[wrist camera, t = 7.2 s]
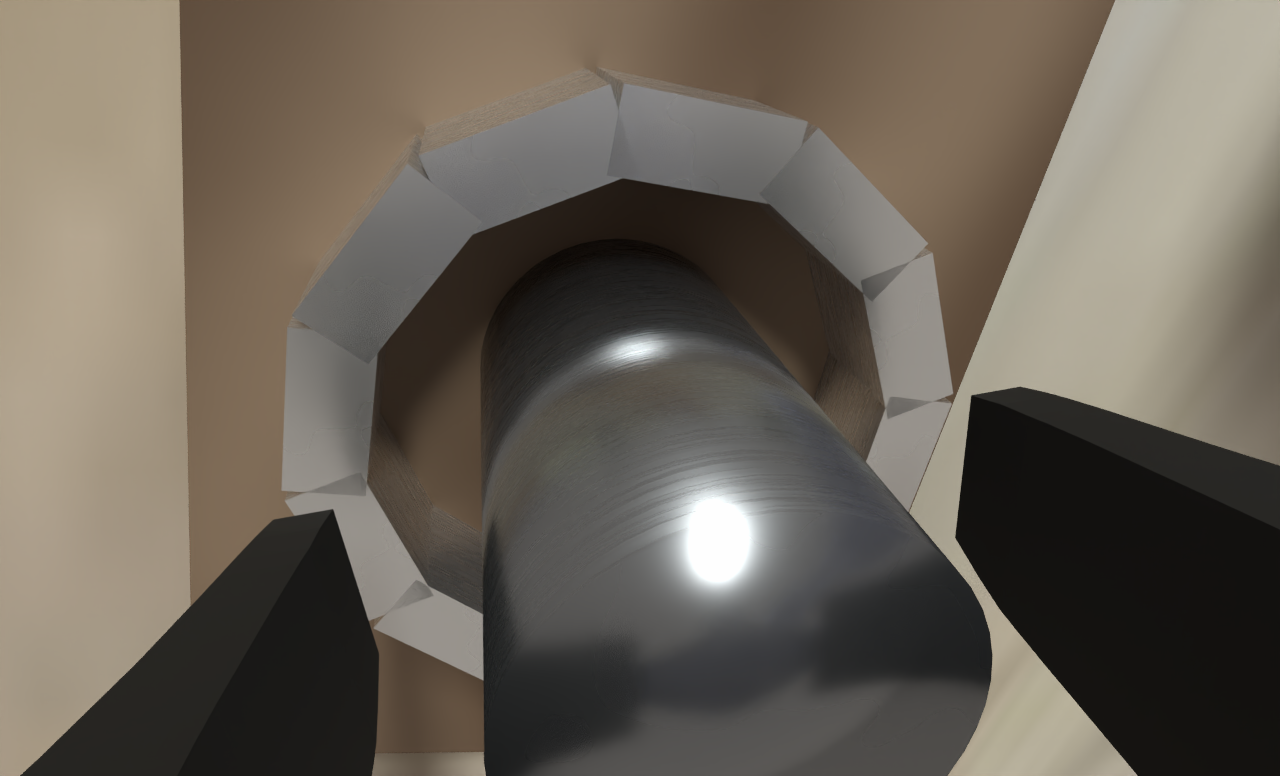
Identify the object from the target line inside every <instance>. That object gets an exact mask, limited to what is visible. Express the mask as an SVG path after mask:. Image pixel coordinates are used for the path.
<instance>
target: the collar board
mask: <svg viewBox="0 0 1280 776" xmlns="http://www.w3.org/2000/svg"><path fill="white" fill-rule="evenodd" d="M1114 2H1115V0H180V48H181V103H182V157H183V211H184V265H185V320H186V374H187V428H188V483H189V537H190V591H191V605H192V604H193V603H194V602H195V601H196V600H197V599H198V598H199V597H200V596H201V595H202V594H203V593H204V592H205V590H206V589H207V588H208V587H209V586H210V585H211V584H212V583H213V582H214V581H215V580H216V579H217V577H218V576H219V575H220V574H221V573H222V572H223V571H224V570H225V569H226V568H227V567H228V566H229V564H230V563H231V562H232V561H233V560H234V559H235V558H236V557H237V556H238V555H239V554H240V553H241V552H242V550H243V549H244V548H245V547H246V546H247V545H248V544H249V543H250V542H251V541H252V540H253V539H254V538H255V537H256V536H257V535H258V534H259V533H260V532H261V531H262V530H263V529H264V528H265V527H266V526H267V525H268V524H269V523H270V522H271V521H272V520H274V519H279V518H285V517H291V516H296V515H302V514H308V513H313V512H319V511H324V510H330V509H333V510H334V513H335V516H336V519H337V522H338V526H339V529H340V532H341V535H342V538H343V541H344V544H345V548H346V551H347V554H348V557H349V560H350V563H351V567H352V570H353V573H354V576H355V579H356V582H357V585H358V589H359V592H360V595H361V598H362V601H363V604H364V607H365V611H366V614H367V617H368V620H369V623H370V626H371V630H372V633H373V636H374V639H375V642H376V645H377V648H378V652H379V688H378V719H377V742H376V750H375V753H425V752H484V687H483V590H482V493H481V397H480V363H481V351H482V345H483V339H484V336H485V333H486V330H487V327H488V324H489V322H490V320H491V317H492V315H493V313H494V311H495V309H496V307H497V306H498V304H499V303H500V301H501V300H502V298H503V297H504V296H505V294H506V293H507V292H508V290H509V289H510V288H511V287H512V286H513V285H514V284H515V283H516V281H517V280H518V279H519V278H521V277H522V276H523V275H524V274H525V273H526V272H527V271H529V270H530V269H531V268H532V267H534V266H535V265H537V264H538V263H540V262H541V261H543V260H544V259H546V258H547V257H549V256H551V255H553V254H556V253H558V252H560V251H562V250H564V249H567V248H570V247H573V246H576V245H579V244H582V243H587V242H592V241H597V240H606V239H630V240H639V241H644V242H649V243H653V244H656V245H659V246H662V247H665V248H668V249H670V250H672V251H674V252H676V253H678V254H680V255H682V256H684V257H686V258H687V259H689V260H690V261H692V262H693V263H694V264H696V265H697V266H699V267H700V268H701V269H702V270H703V271H704V272H705V273H706V274H707V275H708V276H709V277H710V278H711V279H712V280H713V281H714V282H715V284H716V285H717V286H718V287H719V288H720V290H721V291H722V292H723V293H724V294H725V295H726V297H727V298H728V299H729V300H730V301H731V303H732V304H733V305H734V306H735V307H736V309H737V310H738V311H739V312H740V313H741V314H742V316H743V317H744V318H745V319H746V320H747V322H748V323H749V324H750V325H751V326H752V327H753V329H754V330H755V331H756V332H757V333H758V335H759V336H760V337H761V338H762V339H763V341H764V342H765V343H766V344H767V345H768V346H769V348H770V349H771V350H772V351H773V352H774V354H775V355H776V356H777V357H778V358H779V359H780V361H781V362H782V363H783V364H784V365H785V367H786V368H787V369H788V370H789V371H790V373H791V374H792V375H793V376H794V377H795V378H796V380H797V381H798V382H799V383H800V384H801V386H802V387H803V388H804V389H805V390H806V391H807V393H808V394H809V395H810V396H811V397H812V399H813V400H814V401H815V402H816V403H817V405H818V406H819V407H820V408H821V409H822V410H823V412H824V413H825V414H826V415H827V416H828V418H829V419H830V420H831V421H832V422H833V423H834V425H835V426H836V427H837V428H838V429H839V431H840V432H841V433H842V434H843V435H844V437H845V438H846V439H847V440H848V441H849V442H850V444H851V445H852V446H853V447H854V448H855V450H856V451H857V452H858V453H859V454H860V455H861V457H862V458H863V459H864V460H865V461H866V463H867V464H868V465H869V466H870V467H871V469H872V470H873V471H874V472H875V473H876V474H877V476H878V477H879V478H880V479H881V480H882V482H883V483H884V484H885V485H886V486H887V488H888V489H889V490H890V491H891V492H892V493H893V495H894V496H895V497H896V498H897V499H898V501H899V502H900V503H901V504H902V505H903V506H904V508H905V509H906V510H907V511H908V512H909V511H910V509H911V506H912V504H913V501H914V499H915V496H916V494H917V491H918V489H919V486H920V484H921V481H922V479H923V476H924V474H925V471H926V469H927V466H928V464H929V461H930V459H931V456H932V454H933V452H934V449H935V447H936V444H937V442H938V439H939V437H940V434H941V432H942V429H943V427H944V424H945V422H946V419H947V417H948V414H949V412H950V409H951V407H952V404H953V402H954V399H955V397H956V394H957V392H958V389H959V387H960V384H961V382H962V379H963V377H964V374H965V372H966V369H967V367H968V365H969V362H970V360H971V357H972V355H973V352H974V350H975V347H976V345H977V342H978V340H979V337H980V335H981V332H982V330H983V327H984V325H985V322H986V320H987V317H988V315H989V312H990V310H991V307H992V305H993V302H994V300H995V297H996V295H997V292H998V290H999V287H1000V285H1001V282H1002V280H1003V278H1004V275H1005V273H1006V270H1007V268H1008V265H1009V263H1010V260H1011V258H1012V255H1013V253H1014V250H1015V248H1016V245H1017V243H1018V240H1019V238H1020V235H1021V233H1022V230H1023V228H1024V225H1025V223H1026V220H1027V218H1028V215H1029V213H1030V210H1031V208H1032V205H1033V203H1034V200H1035V198H1036V195H1037V193H1038V191H1039V188H1040V186H1041V183H1042V181H1043V178H1044V176H1045V173H1046V171H1047V168H1048V166H1049V163H1050V161H1051V158H1052V156H1053V153H1054V151H1055V148H1056V146H1057V143H1058V141H1059V138H1060V136H1061V133H1062V131H1063V128H1064V126H1065V123H1066V121H1067V118H1068V116H1069V113H1070V111H1071V108H1072V106H1073V104H1074V101H1075V99H1076V96H1077V94H1078V91H1079V89H1080V86H1081V84H1082V81H1083V79H1084V76H1085V74H1086V71H1087V69H1088V66H1089V64H1090V61H1091V59H1092V56H1093V54H1094V51H1095V49H1096V46H1097V44H1098V41H1099V39H1100V36H1101V34H1102V31H1103V29H1104V26H1105V24H1106V21H1107V19H1108V17H1109V14H1110V12H1111V9H1112V7H1113V4H1114Z"/></svg>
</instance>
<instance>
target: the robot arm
mask: <svg viewBox="0 0 1280 776" xmlns="http://www.w3.org/2000/svg"><path fill="white" fill-rule="evenodd" d="M955 538H956V540H957V541H958V543H959V545H960V546H961V548H962V550H963V551H964V553H965V555H966V556H967V558H968V560H969V561H970V563H971V565H972V566H973V568H974V570H975V571H976V573H977V575H978V577H979V578H980V580H981V581H982V583H983V584H984V586H985V587H986V589H987V590H988V592H989V593H990V595H991V597H992V598H993V600H994V601H995V603H996V604H997V606H998V607H999V609H1000V610H1001V611H1002V613H1003V614H1004V615H1005V616H1006V618H1007V619H1008V620H1009V621H1010V623H1011V624H1012V625H1013V626H1014V628H1015V629H1016V630H1017V631H1018V633H1019V634H1020V635H1021V636H1022V637H1023V639H1024V640H1025V641H1026V642H1027V643H1028V645H1029V646H1030V647H1031V648H1032V650H1033V651H1034V652H1035V653H1036V654H1037V656H1038V657H1039V658H1040V659H1041V661H1042V662H1043V663H1044V664H1045V665H1046V667H1047V668H1048V669H1049V670H1050V671H1051V673H1052V674H1053V675H1054V676H1055V677H1056V679H1057V680H1058V681H1059V682H1060V683H1061V685H1062V686H1063V687H1064V688H1065V689H1066V690H1067V692H1068V693H1069V694H1070V695H1071V696H1072V698H1073V699H1074V700H1075V701H1076V702H1077V704H1078V705H1079V706H1080V707H1081V708H1082V710H1083V711H1084V712H1085V713H1086V714H1087V716H1088V717H1089V718H1090V719H1091V720H1092V721H1093V723H1094V724H1095V725H1096V726H1097V727H1098V729H1099V730H1100V731H1101V732H1102V733H1103V735H1104V736H1105V737H1106V738H1107V739H1108V741H1109V742H1110V743H1111V744H1112V745H1113V747H1114V748H1115V749H1116V750H1117V751H1118V753H1119V754H1120V755H1121V756H1122V757H1123V758H1124V760H1125V761H1126V762H1127V763H1128V764H1129V766H1130V767H1131V768H1132V769H1133V770H1134V772H1135V773H1136V774H1137V775H1138V776H1280V466H1279V465H1275V464H1272V463H1269V462H1266V461H1262V460H1259V459H1256V458H1253V457H1249V456H1246V455H1243V454H1240V453H1237V452H1233V451H1230V450H1227V449H1224V448H1221V447H1218V446H1215V445H1211V444H1208V443H1205V442H1202V441H1199V440H1196V439H1193V438H1190V437H1187V436H1184V435H1181V434H1177V433H1174V432H1171V431H1168V430H1165V429H1162V428H1159V427H1156V426H1153V425H1150V424H1147V423H1144V422H1141V421H1138V420H1135V419H1131V418H1128V417H1125V416H1122V415H1119V414H1116V413H1113V412H1110V411H1107V410H1104V409H1100V408H1097V407H1094V406H1091V405H1088V404H1084V403H1081V402H1078V401H1074V400H1071V399H1068V398H1064V397H1060V396H1057V395H1053V394H1049V393H1045V392H1042V391H1037V390H1032V389H1028V388H1023V387H1016V388H1011V389H1005V390H1000V391H994V392H988V393H983V394H977V395H971V404H970V412H969V421H968V430H967V439H966V448H965V457H964V465H963V474H962V483H961V492H960V501H959V510H958V518H957V527H956V536H955ZM378 688H379V652H378V648H377V645H376V642H375V639H374V636H373V633H372V630H371V626H370V623H369V620H368V617H367V614H366V611H365V607H364V604H363V601H362V598H361V595H360V592H359V589H358V585H357V582H356V579H355V576H354V573H353V570H352V567H351V563H350V560H349V557H348V554H347V551H346V548H345V544H344V541H343V538H342V535H341V532H340V529H339V526H338V522H337V519H336V516H335V513H334V510H333V509H330V510H324V511H319V512H313V513H308V514H302V515H296V516H291V517H285V518H279V519H274V520H272V521H271V522H270V523H269V524H268V525H267V526H266V527H265V528H264V529H263V530H262V531H261V532H260V533H259V534H258V535H257V536H256V537H255V538H254V539H253V540H252V541H251V542H250V543H249V544H248V545H247V546H246V547H245V548H244V549H243V550H242V552H241V553H240V554H239V555H238V556H237V557H236V558H235V559H234V560H233V561H232V562H231V563H230V564H229V566H228V567H227V568H226V569H225V570H224V571H223V572H222V573H221V574H220V575H219V576H218V577H217V579H216V580H215V581H214V582H213V583H212V584H211V585H210V586H209V587H208V588H207V589H206V590H205V592H204V593H203V594H202V595H201V596H200V597H199V598H198V599H197V600H196V601H195V602H194V603H193V604H192V605H191V606H190V608H189V609H188V610H187V611H186V612H185V613H184V614H183V615H182V616H181V617H180V618H179V619H178V620H177V621H176V622H175V623H174V624H173V625H172V627H171V628H170V629H169V630H168V631H167V632H166V633H165V634H164V635H163V636H162V637H161V638H160V639H159V640H158V641H157V642H156V643H155V644H154V646H153V647H152V648H151V649H150V650H149V651H148V652H147V653H146V654H145V655H144V656H143V657H142V658H141V659H140V660H139V661H138V662H137V663H136V664H135V665H134V666H133V667H132V668H131V669H130V670H129V671H128V672H127V673H126V674H125V675H124V676H123V677H122V678H121V679H120V680H119V681H118V682H117V683H116V684H115V685H114V686H113V687H112V688H111V689H110V690H109V691H108V692H107V693H106V694H105V695H104V696H103V697H102V698H101V699H99V700H98V701H97V702H96V703H95V704H94V705H93V706H92V707H91V708H90V709H89V710H88V711H87V712H86V713H85V714H84V715H83V716H82V717H81V718H80V719H79V720H78V721H77V722H76V723H75V724H74V725H73V726H72V727H71V728H70V729H69V730H68V731H67V732H66V733H65V734H64V735H63V736H62V737H60V738H59V739H58V740H57V741H56V742H55V743H54V744H53V745H52V746H51V747H50V748H49V749H48V750H47V751H46V752H45V753H44V754H43V755H42V756H41V757H40V758H39V759H38V760H37V761H36V762H35V763H33V764H32V765H31V766H30V767H29V768H28V769H27V770H26V771H25V772H24V773H23V774H21V775H20V776H372V770H373V764H374V757H375V750H376V742H377V719H378Z"/></svg>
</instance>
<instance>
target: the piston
mask: <svg viewBox="0 0 1280 776" xmlns="http://www.w3.org/2000/svg"><path fill="white" fill-rule="evenodd" d="M480 397H481V493H482V590H483V687H484V765H485V771H486V776H947V775H948V774H949V773H950V771H951V770H952V768H953V767H954V765H955V764H956V762H957V761H958V760H959V758H960V757H961V755H962V754H963V752H964V751H965V749H966V747H967V745H968V743H969V741H970V739H971V738H972V736H973V734H974V732H975V730H976V728H977V726H978V723H979V720H980V718H981V715H982V712H983V710H984V707H985V704H986V700H987V695H988V691H989V686H990V682H991V670H992V648H991V639H990V632H989V628H988V625H987V622H986V619H985V615H984V612H983V609H982V607H981V605H980V603H979V601H978V600H977V598H976V596H975V594H974V592H973V590H972V588H971V587H970V586H969V584H968V583H967V582H966V581H965V579H964V578H963V577H962V576H961V574H960V573H959V572H958V571H957V569H956V568H955V567H954V566H953V565H952V563H951V562H950V561H949V560H948V559H947V557H946V556H945V555H944V554H943V553H942V552H941V550H940V549H939V548H938V547H937V546H936V544H935V543H934V542H933V541H932V540H931V538H930V537H929V536H928V535H927V534H926V533H925V531H924V530H923V529H922V528H921V527H920V525H919V524H918V523H917V522H916V521H915V520H914V518H913V517H912V516H911V515H910V514H909V512H908V511H907V510H906V509H905V508H904V506H903V505H902V504H901V503H900V502H899V501H898V499H897V498H896V497H895V496H894V495H893V493H892V492H891V491H890V490H889V489H888V488H887V486H886V485H885V484H884V483H883V482H882V480H881V479H880V478H879V477H878V476H877V474H876V473H875V472H874V471H873V470H872V469H871V467H870V466H869V465H868V464H867V463H866V461H865V460H864V459H863V458H862V457H861V455H860V454H859V453H858V452H857V451H856V450H855V448H854V447H853V446H852V445H851V444H850V442H849V441H848V440H847V439H846V438H845V437H844V435H843V434H842V433H841V432H840V431H839V429H838V428H837V427H836V426H835V425H834V423H833V422H832V421H831V420H830V419H829V418H828V416H827V415H826V414H825V413H824V412H823V410H822V409H821V408H820V407H819V406H818V405H817V403H816V402H815V401H814V400H813V399H812V397H811V396H810V395H809V394H808V393H807V391H806V390H805V389H804V388H803V387H802V386H801V384H800V383H799V382H798V381H797V380H796V378H795V377H794V376H793V375H792V374H791V373H790V371H789V370H788V369H787V368H786V367H785V365H784V364H783V363H782V362H781V361H780V359H779V358H778V357H777V356H776V355H775V354H774V352H773V351H772V350H771V349H770V348H769V346H768V345H767V344H766V343H765V342H764V341H763V339H762V338H761V337H760V336H759V335H758V333H757V332H756V331H755V330H754V329H753V327H752V326H751V325H750V324H749V323H748V322H747V320H746V319H745V318H744V317H743V316H742V314H741V313H740V312H739V311H738V310H737V309H736V307H735V306H734V305H733V304H732V303H731V301H730V300H729V299H728V298H727V297H726V295H725V294H724V293H723V292H722V291H721V290H720V288H719V287H718V286H717V285H716V284H715V282H714V281H713V280H712V279H711V278H710V277H709V276H708V275H707V274H706V273H705V272H704V271H703V270H702V269H701V268H700V267H699V266H697V265H696V264H694V263H693V262H692V261H690V260H689V259H687V258H686V257H684V256H682V255H680V254H678V253H676V252H674V251H672V250H670V249H668V248H665V247H662V246H659V245H656V244H653V243H649V242H644V241H639V240H630V239H606V240H597V241H592V242H587V243H582V244H579V245H576V246H573V247H570V248H567V249H564V250H562V251H560V252H558V253H556V254H553V255H551V256H549V257H547V258H546V259H544V260H543V261H541V262H540V263H538V264H537V265H535V266H534V267H532V268H531V269H530V270H529V271H527V272H526V273H525V274H524V275H523V276H522V277H521V278H519V279H518V280H517V281H516V283H515V284H514V285H513V286H512V287H511V288H510V289H509V290H508V292H507V293H506V294H505V296H504V297H503V298H502V300H501V301H500V303H499V304H498V306H497V307H496V309H495V311H494V313H493V315H492V317H491V320H490V322H489V324H488V327H487V330H486V333H485V336H484V339H483V345H482V351H481V363H480Z"/></svg>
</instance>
